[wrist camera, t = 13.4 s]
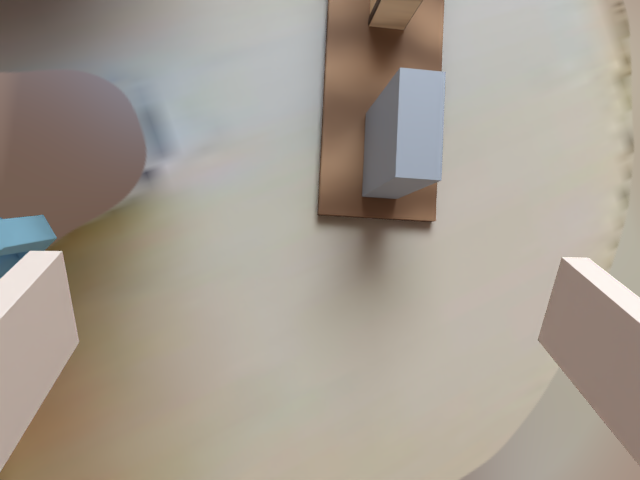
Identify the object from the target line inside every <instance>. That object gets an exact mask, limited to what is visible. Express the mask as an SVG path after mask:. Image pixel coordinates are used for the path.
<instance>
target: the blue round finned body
mask: <svg viewBox="0 0 640 480" xmlns="http://www.w3.org/2000/svg"><path fill="white" fill-rule="evenodd" d="M56 239H57V237H56V235H55V234H54V232H53V230H52V229H51V227H50V225H49V224H48V222H47V220H46V218H45V217H44V215H37V216H28V217H19V218H9V219H2V218H0V279H1V278H2V277H3V276H4V275H5V274H6V273H7V272H8V271H9V270H10V269H11V268H12V267H13V266H14V265H15V264H16V263H18V262H19V261H20V260H21V259H22V258H23V257H24V256H25V255H26V254H27V253H28V252H29V251H44V250H45V249H46V248H48V247H49V246H50V245H51V244H52V243H53V242H54V241H55V240H56Z"/></svg>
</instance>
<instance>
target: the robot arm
mask: <svg viewBox="0 0 640 480" xmlns="http://www.w3.org/2000/svg"><path fill="white" fill-rule="evenodd" d="M538 341H539V342H540V343H541V344H542V346H543V347H544V348H545V349H546V351H547V352H548V353H549V354H550V356H551V357H552V358H553V359H554V361H555V362H556V363H557V364H558V366H559V367H560V368H561V369H562V371H563V372H564V373H565V374H566V375H567V377H568V378H569V379H570V380H571V382H572V383H573V384H574V385H575V386H576V388H577V389H578V390H579V392H580V393H581V394H582V395H583V397H584V398H585V399H586V400H587V401H588V403H589V404H590V405H591V406H592V408H593V409H594V410H595V411H596V413H597V414H598V415H599V416H600V418H601V419H602V420H603V421H604V423H605V424H606V425H607V426H608V427H609V429H610V430H611V431H612V432H613V434H614V435H615V436H616V437H617V439H618V440H619V441H620V442H621V444H622V445H623V446H624V447H625V448H626V450H627V451H628V452H629V454H630V455H631V456H632V457H633V458H634V460H635V461H636V462H637V463H638V465H639V466H640V298H639V297H638V296H637V295H636V294H634V293H633V292H632V291H630V290H629V289H628V288H627V287H625V286H624V285H623V284H621V283H620V282H619V281H618V280H616V279H615V278H614V277H612V276H611V275H610V274H609V273H607V272H606V271H605V270H603V269H602V268H601V267H600V266H598V265H597V264H596V263H594V262H593V261H592V260H590V259H589V258H577V257H562V258H561V262H560V265H559V269H558V272H557V276H556V279H555V282H554V286H553V289H552V293H551V296H550V300H549V303H548V307H547V310H546V313H545V317H544V320H543V324H542V327H541V331H540V334H539V337H538ZM78 343H79V339H78V333H77V328H76V322H75V317H74V312H73V306H72V301H71V295H70V290H69V285H68V279H67V274H66V268H65V263H64V258H63V252H62V251H29V252H28V253H27V254H26V255H25V256H24V257H23V258H22V259H21V260H20V261H19V262H18V263H16V264H15V265H14V266H13V267H12V268H11V269H10V270H9V271H8V272H7V273H6V274H5V275H4V276H3V277H2V278H1V279H0V472H1V470H2V468H3V467H4V465H5V463H6V462H7V460H8V459H9V457H10V455H11V454H12V452H13V450H14V449H15V447H16V445H17V444H18V442H19V440H20V439H21V437H22V435H23V434H24V432H25V431H26V429H27V427H28V426H29V424H30V422H31V421H32V419H33V417H34V416H35V414H36V412H37V411H38V409H39V407H40V406H41V404H42V402H43V401H44V399H45V398H46V396H47V394H48V393H49V391H50V389H51V388H52V386H53V384H54V383H55V381H56V379H57V378H58V376H59V374H60V373H61V371H62V370H63V368H64V366H65V365H66V363H67V361H68V360H69V358H70V356H71V355H72V353H73V351H74V350H75V348H76V346H77V345H78Z"/></svg>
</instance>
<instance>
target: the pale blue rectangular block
mask: <svg viewBox="0 0 640 480" xmlns="http://www.w3.org/2000/svg"><path fill="white" fill-rule="evenodd" d="M445 73H446V72H441V71H431V70H421V69H411V68H401V67H400V68H399V70H398V71H397V72H396V74H395V75H394V76H393V78H392V79H391V80H390V82H389V83H388V84H387V86H386V87H385V88H384V90H383V91H382V92H381V94H380V95H379V97H378V98H377V99H376V101H375V102H374V103H373V105H372V106H371V107H370V109H369V110H368V111H367V113H366V120H365V142H364V164H363V186H362V197H374V198H390V199H398V198H401V197H403V196H405V195H408V194H410V193H413V192H415V191H417V190H420V189H422V188H424V187H427V186H429V185H432V184H434V183H436V182H439V181H441V176H442V150H443V125H444V99H445Z"/></svg>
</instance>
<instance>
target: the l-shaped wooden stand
mask: <svg viewBox="0 0 640 480" xmlns="http://www.w3.org/2000/svg"><path fill="white" fill-rule="evenodd" d="M443 17H444V0H328V13H327V34H326V54H325V75H324V95H323V115H322V136H321V156H320V177H319V197H318V215H327V216H344V217H361V218H377V219H394V220H411V221H427V222H433V221H436V196H437V182H436V183H434V184H432V185H429V186H427V187H424V188H422V189H420V190H417V191H415V192H413V193H410V194H408V195H405V196H403V197H401V198H398V199H390V198H374V197H362V186H363V164H364V142H365V120H366V113H367V111H368V110H369V109H370V107H371V106H372V105H373V103H374V102H375V101H376V99H377V98H378V97H379V95H380V94H381V92H382V91H383V90H384V88H385V87H386V86H387V84H388V83H389V82H390V80H391V79H392V78H393V76H394V75H395V74H396V72H397V71H398V70H399V68H400V67H401V68H411V69H421V70H431V71H441V68H442V43H443Z"/></svg>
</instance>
